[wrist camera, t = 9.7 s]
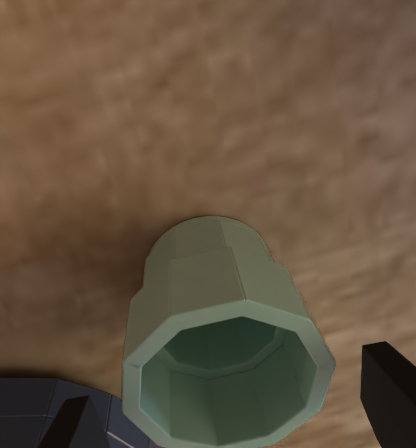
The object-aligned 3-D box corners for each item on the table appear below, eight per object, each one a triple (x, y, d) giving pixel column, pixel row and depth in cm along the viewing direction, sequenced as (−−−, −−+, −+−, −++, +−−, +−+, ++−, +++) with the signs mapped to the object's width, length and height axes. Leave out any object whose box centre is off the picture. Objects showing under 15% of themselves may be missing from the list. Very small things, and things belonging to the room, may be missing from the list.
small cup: (294, 207, 15) (358, 303, 10) (266, 331, 17) (305, 455, 12) (137, 198, 14) (122, 296, 9) (133, 328, 16) (120, 460, 12)
